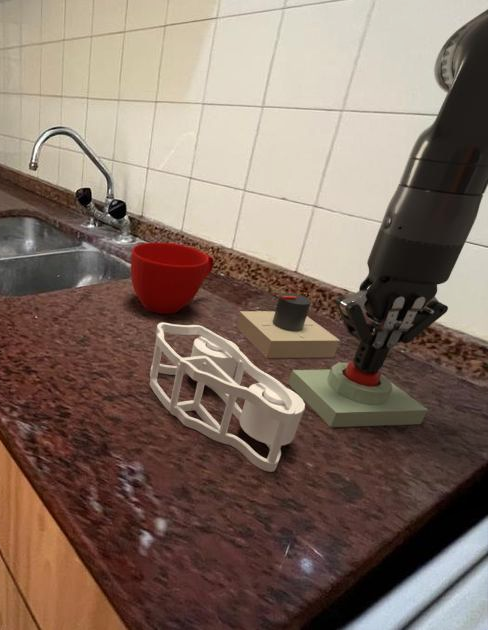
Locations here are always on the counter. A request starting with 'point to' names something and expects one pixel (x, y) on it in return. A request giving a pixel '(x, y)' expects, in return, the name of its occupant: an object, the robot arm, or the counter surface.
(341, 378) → the power switch
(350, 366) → the power button
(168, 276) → the ceramic cup
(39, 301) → the counter surface
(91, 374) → the counter surface
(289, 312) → the dial
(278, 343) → the control panel
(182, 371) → the skeletal toy car
